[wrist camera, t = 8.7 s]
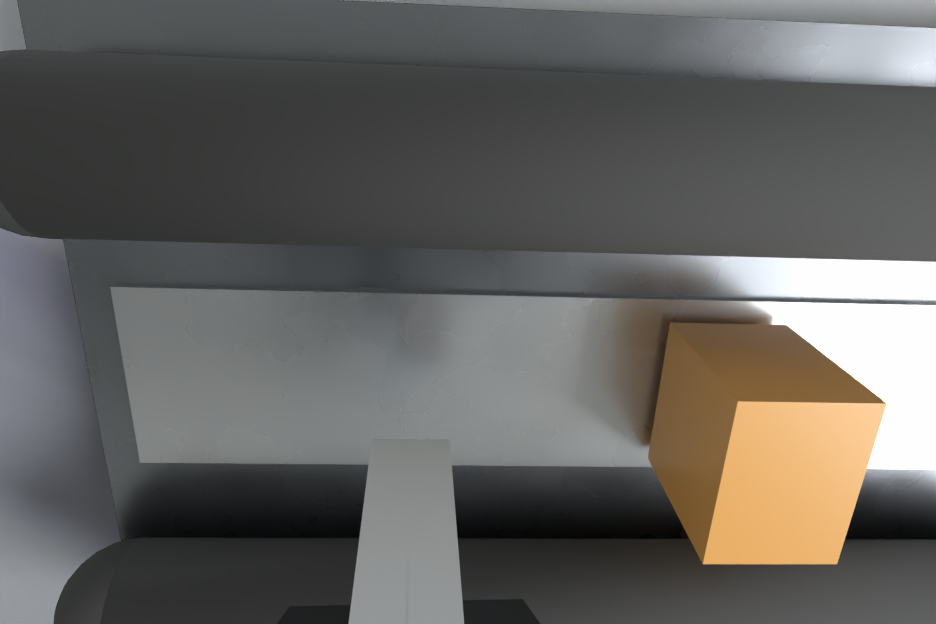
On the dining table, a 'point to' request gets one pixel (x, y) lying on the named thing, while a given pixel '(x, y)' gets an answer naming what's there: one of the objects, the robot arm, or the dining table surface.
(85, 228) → the dark grey cylinder rod
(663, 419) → the tan cardboard-colored block
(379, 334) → the panel
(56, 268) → the dining table surface
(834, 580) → the dark grey cylindrical rod
